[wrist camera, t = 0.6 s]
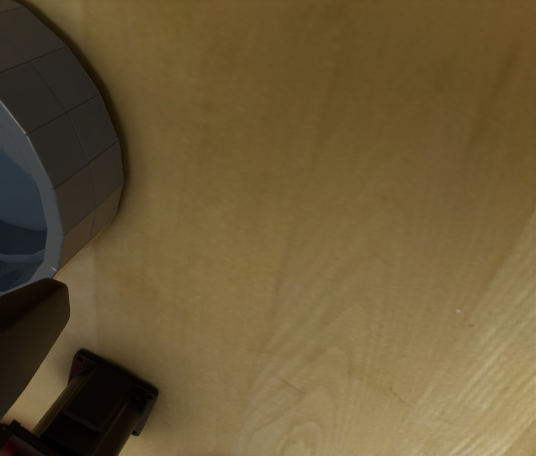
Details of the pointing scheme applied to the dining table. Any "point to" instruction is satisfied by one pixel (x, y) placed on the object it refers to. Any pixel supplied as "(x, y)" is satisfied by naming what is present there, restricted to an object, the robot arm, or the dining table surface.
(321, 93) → the dining table surface
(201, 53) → the dining table surface
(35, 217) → the bowl
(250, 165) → the dining table surface
